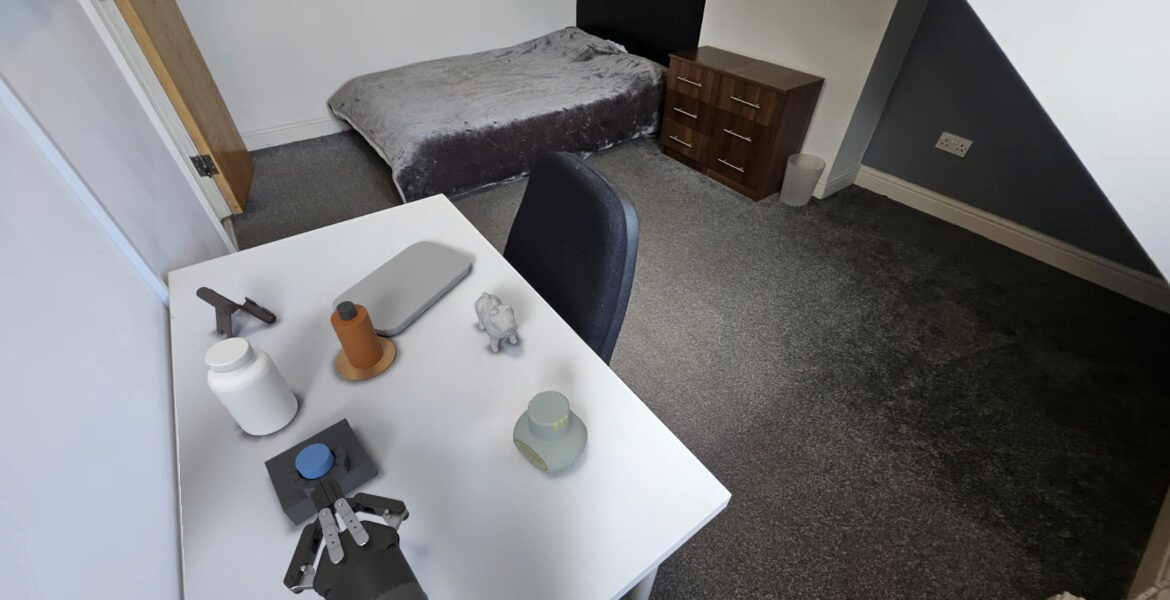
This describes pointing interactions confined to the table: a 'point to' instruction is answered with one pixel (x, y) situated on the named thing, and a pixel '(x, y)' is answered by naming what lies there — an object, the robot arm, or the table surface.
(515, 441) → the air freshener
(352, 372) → the coaster
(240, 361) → the pill bottle
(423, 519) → the table surface
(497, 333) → the grey animal figurine
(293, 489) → the dark grey button base
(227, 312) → the tablet stand
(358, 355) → the bottle
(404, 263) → the tablet
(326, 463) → the blue push button
